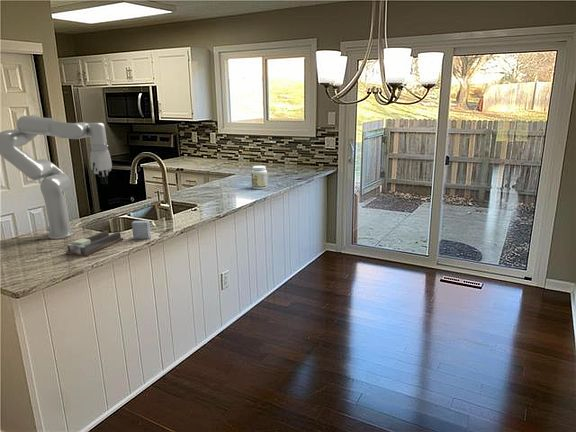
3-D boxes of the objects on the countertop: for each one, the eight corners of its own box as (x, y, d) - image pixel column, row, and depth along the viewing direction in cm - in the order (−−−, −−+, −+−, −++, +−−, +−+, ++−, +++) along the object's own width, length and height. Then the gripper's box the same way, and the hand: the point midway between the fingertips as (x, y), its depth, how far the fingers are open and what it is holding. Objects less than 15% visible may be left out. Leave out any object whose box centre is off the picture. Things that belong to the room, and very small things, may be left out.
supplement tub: (248, 188, 328) (247, 166, 324) (260, 185, 336) (260, 164, 332) (258, 190, 320) (257, 168, 315) (270, 188, 328) (270, 166, 323)
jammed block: (74, 250, 194) (73, 241, 193) (83, 247, 199) (81, 238, 197) (83, 251, 192) (81, 242, 191) (91, 248, 197) (90, 239, 196)
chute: (66, 253, 194) (64, 244, 193) (104, 237, 216) (103, 229, 214) (86, 256, 190) (84, 247, 189) (123, 240, 212) (122, 231, 210)
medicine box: (151, 236, 217) (149, 220, 214) (148, 239, 213) (147, 222, 210) (136, 236, 217) (134, 220, 214) (133, 239, 212) (131, 223, 210)
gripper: (104, 146, 217) (109, 180, 222) (82, 149, 203) (87, 186, 208) (116, 146, 214) (120, 181, 219) (94, 149, 201) (99, 187, 206)
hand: (104, 183), depth 214 cm, fingers closed
